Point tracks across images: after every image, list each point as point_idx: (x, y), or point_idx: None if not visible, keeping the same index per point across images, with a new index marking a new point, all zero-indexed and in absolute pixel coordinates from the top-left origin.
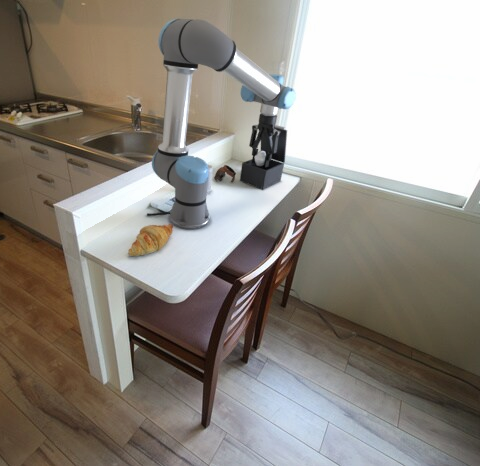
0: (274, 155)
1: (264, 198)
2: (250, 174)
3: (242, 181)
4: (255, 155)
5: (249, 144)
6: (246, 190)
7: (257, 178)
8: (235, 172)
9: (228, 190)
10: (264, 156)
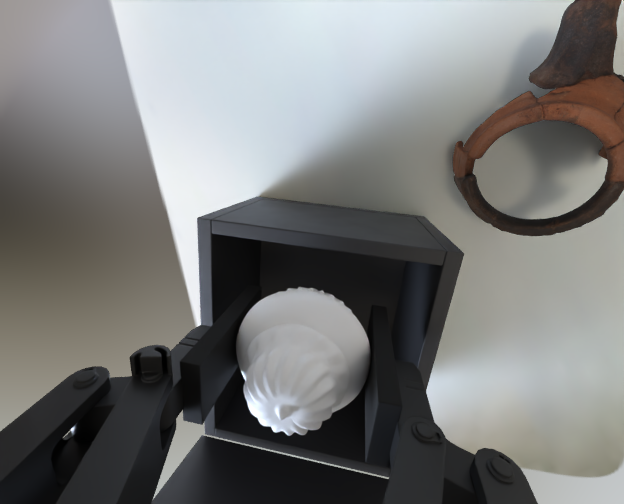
0: (267, 483)
1: (190, 96)
2: (350, 220)
3: (403, 214)
4: (370, 367)
5: (530, 490)
6: (319, 114)
7: (289, 211)
8: (479, 212)
9: (412, 10)
10: (247, 354)
